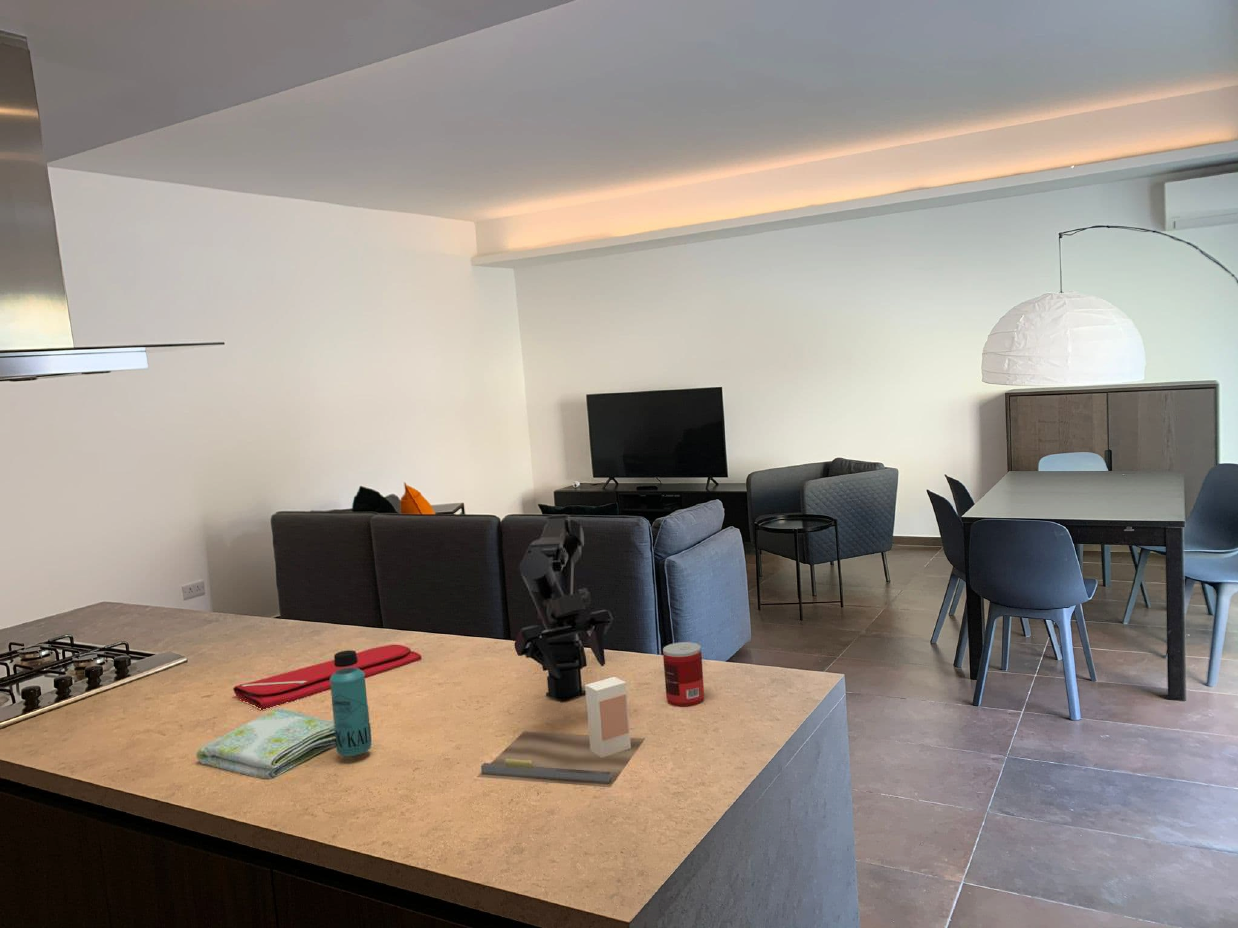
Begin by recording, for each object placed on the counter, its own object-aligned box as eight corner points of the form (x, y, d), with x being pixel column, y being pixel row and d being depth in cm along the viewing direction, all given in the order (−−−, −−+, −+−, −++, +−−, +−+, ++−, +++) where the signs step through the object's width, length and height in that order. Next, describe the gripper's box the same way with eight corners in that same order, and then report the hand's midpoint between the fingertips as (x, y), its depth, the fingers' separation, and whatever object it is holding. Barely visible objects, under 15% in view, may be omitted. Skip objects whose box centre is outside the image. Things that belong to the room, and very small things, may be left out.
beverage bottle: (341, 751, 170) (330, 648, 168) (376, 747, 170) (366, 645, 168) (333, 766, 163) (321, 659, 161) (370, 762, 164) (359, 655, 162)
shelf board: (524, 736, 170) (524, 731, 170) (645, 743, 163) (645, 738, 163) (477, 782, 152) (476, 776, 152) (610, 792, 144) (610, 786, 144)
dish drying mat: (423, 661, 225) (421, 647, 224) (263, 713, 195) (261, 697, 195) (389, 651, 236) (388, 638, 235) (233, 699, 206) (231, 683, 206)
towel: (271, 783, 159) (268, 755, 158) (195, 765, 169) (192, 739, 169) (349, 743, 174) (346, 718, 174) (275, 729, 185) (272, 705, 185)
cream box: (590, 750, 159) (585, 684, 158) (619, 741, 162) (614, 676, 161) (602, 757, 156) (597, 690, 154) (631, 748, 159) (626, 682, 158)
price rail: (485, 770, 154) (484, 756, 154) (612, 779, 147) (611, 765, 147) (481, 774, 153) (480, 760, 152) (609, 784, 145) (608, 769, 145)
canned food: (709, 694, 185) (706, 642, 184) (696, 708, 178) (692, 654, 177) (675, 691, 188) (671, 640, 187) (660, 705, 181) (656, 652, 180)
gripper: (515, 585, 162) (547, 659, 154) (604, 567, 172) (639, 636, 163) (501, 619, 170) (531, 691, 162) (587, 600, 179) (620, 667, 171)
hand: (581, 670), depth 164 cm, fingers open, 9 cm apart
